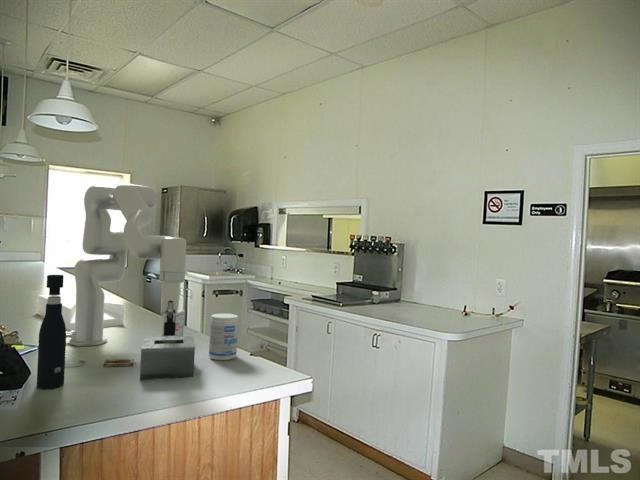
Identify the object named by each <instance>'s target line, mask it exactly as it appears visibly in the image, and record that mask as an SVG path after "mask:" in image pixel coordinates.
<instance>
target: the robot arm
mask: <svg viewBox="0 0 640 480" xmlns="http://www.w3.org/2000/svg"><path fill="white" fill-rule="evenodd" d="M157 202H158V197H157V193H156V191H155V190H154V189H153V187H150V186H148V185H140V184H133V183H121V184H119V185H117V186H113V185H105V184H104V185H103V184H98V185H97V184H95V185H92V186H91V185H90V186H89V188H87V189H86V191H85V194H84V198H83V206H84V212H85V221H84V228H83V237H82V250H83V252H84V253H85V254H87V255H92V256H109V257H87V258H83V259H82V258H81V259H79V260H78V261H77V262H76V263H75V265H74V267H73V269H74V279H75V291H76V294H75V299H76V312H75V330H72V331H66V339H67V338H70V339H69V343H68V344H70V345H72V346H75V347H76V346H77V347H91V346H99V345H102V344H103V345H104V344H105V343H107V341H108V337H106V336H104V327H103V321H104V299H106V298H105V293H104V291H103V288H101V286H100V284H103V283H104V284H106V283H107V284H108V283H117V282H120V281H121V280H123V278H124V276H125V273H126V266H127V257H128V251H130V253H131V254H132V256H134V257H135V258H136V259H139V260H160V261H159V277H158V279H159V280H158V281H159V282H160V283H162V285H161V299H160V301H161V303H160V315H161V316H163V314H165V322H164V336H174V335H175V320H176V316H175V315H176V314H177V312H178V310H179V307H180V298H181V297H180V296H181V284H182V283H185V282H186V281H185V278H186V276H185V275H186V262H187V261H186V259H187V258H186V257H187V240H186V239H185V238H183V237H176V236H175V237H174V236H169V235H154V234H153V235H152V234H143V233H142V232H141V231H140V229H142V228H144V227H146V226H147V225H149V224H150V223H151V222H152V220H153V218H154V213H153V211H152V209H154V208H155V207H156V205H157ZM108 210H111V211H121V214H122V215H123V217H124V219H125V221H126V222H125V224H124V226H123V231H121V230H116V229H115V230H114V229H111V226H112V225H111V224H112V218H111V214H110V212H108ZM165 312H166V313H165Z"/></svg>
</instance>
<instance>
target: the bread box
mask: <svg viewBox="0 0 640 480" xmlns="http://www.w3.org/2000/svg"><path fill="white" fill-rule="evenodd" d="M48 297H50V295H41V294H37V308H36V314H37V315H39V316H40V317H43V318H44V317H45V314H46V304H47V303H48V302H47V301H48V300H47V299H48ZM61 303H62V316H63V319H64V322H65V327H66V331H68V332H71V331H74V330H75V312H76V298H69V297H61ZM124 318H125V304H122V303H120V302H117V301H115V300H112V299H111V300H110V299H107V298H105V299H104V321H103V328H106V327H114V326H115V327H116V326H123V325H124V320H125V319H124Z"/></svg>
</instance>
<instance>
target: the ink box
mask: <svg viewBox="0 0 640 480" xmlns="http://www.w3.org/2000/svg"><path fill="white" fill-rule="evenodd" d="M165 313H166V312H165ZM185 314H186V310H183V309H178V312H177V314H176V315H175V316H176V320H175V335H174V336H184V330H185V328H184V327H185ZM162 316H163V317H162V328H161V336H164V322H165V314H163V315H162Z"/></svg>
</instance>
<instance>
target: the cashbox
mask: <svg viewBox="0 0 640 480" xmlns="http://www.w3.org/2000/svg"><path fill="white" fill-rule="evenodd" d="M195 349H196V345H195V337H194V335H183V336H162V335H161V336H160V335H159V336H144V339H143V343H142V345H141V348H140V369H139V371H140V372H139V380H140V381H141V380H158V379H159V380H161V379H181V378H182V379H183V378H194V374H195V373H194V372H195V356H196V354H195V353H196V350H195Z"/></svg>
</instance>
